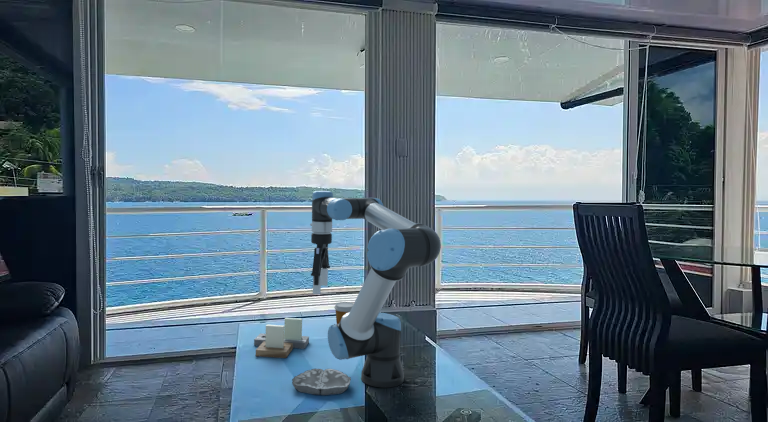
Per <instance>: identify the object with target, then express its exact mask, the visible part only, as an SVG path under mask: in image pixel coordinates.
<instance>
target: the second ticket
mask: <svg viewBox="0 0 768 422" xmlns="http://www.w3.org/2000/svg"><path fill="white" fill-rule="evenodd" d="M283 325H284V339H292V340H302V336H303V318H297V317H296V318H295V317H285V318H284V324H283Z"/></svg>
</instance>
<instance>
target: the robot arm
mask: <svg viewBox="0 0 768 422" xmlns="http://www.w3.org/2000/svg"><path fill="white" fill-rule="evenodd" d="M357 219H358V220H359V219H360V220H365V221H367V222H368V223H370V224H372V225H373V226H374V227H376V228H378V229H380V230H378V231H376V232H374V234H373V235H372V236H371V237H370V239H369V240H368V244H367V249H368V251H367V252H366V255H367V260H368V263H369V266H370V269H369V272H368V274H367V276H366V277H365V280H364V282H363V285H362V286H361V288H360V290H359V293H358V294H357V296H356V298H355V301H354V302H353V304H354V305H353V307H352V309H351V311H350V312H348V313H346V314H345V315H344V316H343V317H342V319H341V321H340V323H339V324H337V323H334V324H332V325H330V326H329V327H328V329H327V342H328V347H329V349H330V350H329V351H330V353H331V354H332V355H333V357H334V358H335V359H337V360H341V361H342V360H349V359H353V358H359V357H363V356H366V357H365V358H366V359H365V361H364V364H363V366H362V369H361V371H360V372H361V374H360V375H361V377H360V379H361V381H362V382H363V384H365V385H367V386H371V387H374V388H375V387H376V388H394V387H398V386H401V384H403V382H404V380H405V372H404V369H403V364H402V361H401V339H402V338H401V337H402V322H401V319H400V318H399V317H398V316H396V315H393V314H390V313H386V312H385V313H384V312H381V310H382V308H383V307H384V305H385V303H386V301H387V299H388V297H389V295H390V294H391V292H392V289H393V287H394V286H395V284H396V283H397V282H399V281H401V280H403V279H404V278H405V276H406V274H407V273H408V270H409V269H411V268H417V267H418V268H419V267H425V266H428V265H430V264H431V263H434V261H436V259H437V258H438V257H439V254H440V253H441V249H442V243H441V239H440V238H441V237H439V234H438V233H437V232H436V231H435V230H434V229H433V228H431V227H430V226H427V225H426V224H424V223H421V222H418V223H417V222H416V223H415V222H414V221H412V220H409V218H407V217H404V216H402V215H401V214H399V213H397V212H395V211H393V210H392V209H390V208H388V207H386V206H384V203H383V202H382V200H381V199H380V198H378V197H334V194H333V192H332V191H331V190H330V191H329V190H314V191H313V192H312V199H311V223H310V224H309V225H310V227H311V232H312V233H311V234H310V236H311V239H310V241H311V244H312V245H313V244H314V245H316V247H314V249H313V250H314V251H313V252H314V253H313V261H312V262H313V263H312V270H311V273H310V276H311V277H312V294H313V295H315V294H316V295H320V294H321V291H322V289H321V287H323V286H324V287H327V286H328V281H329V279H328V277H329V276H328V274H329V270H328V269H331V265H330V262H329V260H330V259H329V258H330V257H329V245H330V244H332V242H333V236H332V235H333V234H332V232H333V220H335V221H345V220H357Z"/></svg>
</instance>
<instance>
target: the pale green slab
mask: <svg viewBox="0 0 768 422" xmlns="http://www.w3.org/2000/svg"><path fill="white" fill-rule="evenodd" d="M284 325H285V324H283V325H279V324H266V325H265V334H266V340H265V347H270V348H284Z"/></svg>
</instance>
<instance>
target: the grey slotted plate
mask: <svg viewBox="0 0 768 422" xmlns="http://www.w3.org/2000/svg"><path fill="white" fill-rule="evenodd" d="M265 340H266V333H261V332H260V333H259V334H258V335H257V336H256V337H254V339H253V345H254V346H256V347H259V346H260V345H261V344H262V343H263V342H264V341H265ZM284 343H293V349H300V350H301V349H303V350H304V349H306V347H307V346H308V344H309V343H310V336H308V335H307V336H304V335H302V340H292V339H284Z"/></svg>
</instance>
